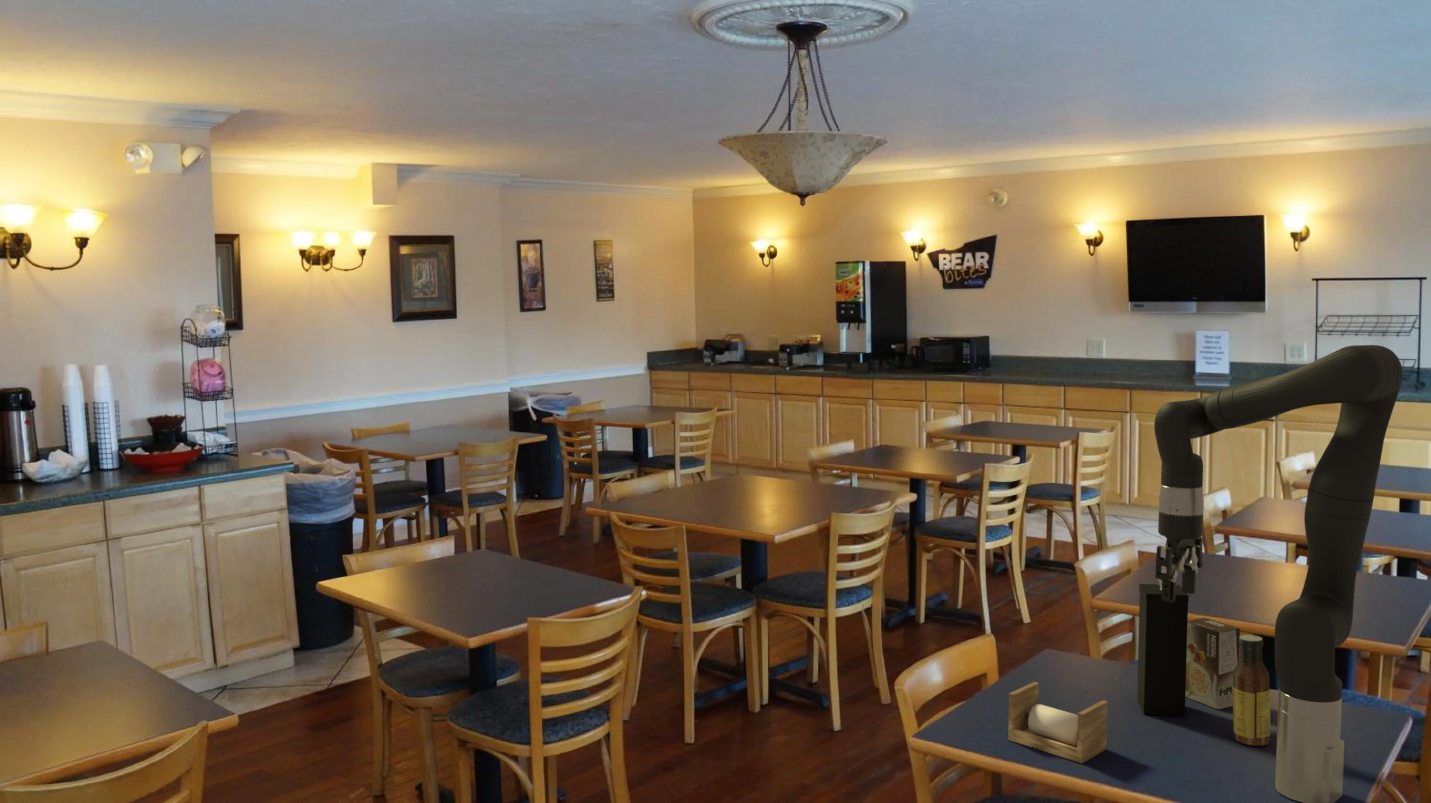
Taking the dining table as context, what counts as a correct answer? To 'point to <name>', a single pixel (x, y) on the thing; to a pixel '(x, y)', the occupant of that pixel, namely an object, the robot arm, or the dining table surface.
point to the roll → (1054, 724)
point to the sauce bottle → (1251, 694)
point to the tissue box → (1162, 651)
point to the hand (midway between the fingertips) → (1178, 597)
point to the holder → (1088, 739)
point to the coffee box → (1211, 662)
